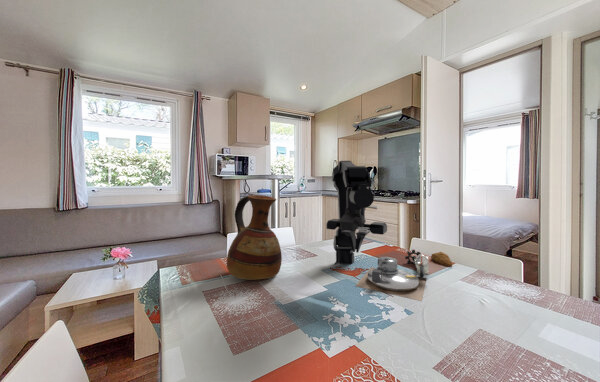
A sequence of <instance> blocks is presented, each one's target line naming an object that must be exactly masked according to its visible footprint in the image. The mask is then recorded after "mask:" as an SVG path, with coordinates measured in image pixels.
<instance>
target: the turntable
mask: <svg viewBox="0 0 600 382" xmlns="http://www.w3.org/2000/svg"><path fill="white" fill-rule="evenodd" d="M397 269H398V268H397ZM368 271H369V270H368ZM368 271H367V272H368ZM368 280H369V282H370V283H372V284H373V285H375V286H377V287H379V288H382V289H386V290H391V291H411V290H414V289H416V288H418V286H419V279H418V278H417V277H416V276H415V273H414V274H413V273H412V272H409V271H407V270H403V269H398V273H397V274H394V275H387V274H382V270H377V269H373V270H371V271H369V272H368Z"/></svg>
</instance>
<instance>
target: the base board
mask: <svg viewBox="0 0 600 382" xmlns="http://www.w3.org/2000/svg"><path fill="white" fill-rule="evenodd" d="M373 269H377V267H370V269H369V270H368V271H367V272H365V274H364V275H363V276H362V277H361V279H360V280H359V281H358V282H357V283H356V284H355V286H354V287H357V288H362V289H365V290H369V291H375V292H380V293H383V294H388V295H392V296H398V297H401V298H406V299H410V300H415V301H418V302H419V301H420V302H422V301H423V298H424V294H425V288H426V284H427V280H421V279H419V286H418V288H416V289H414V290H411V291H391V290H386V289H382V288H379V287H377V286H375V285H373V284H372V283H370V282H369V280H368V272H369V271H371V270H373ZM414 275H415V274H414ZM415 276H417V274H416V275H415Z"/></svg>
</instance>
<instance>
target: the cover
mask: <svg viewBox="0 0 600 382" xmlns="http://www.w3.org/2000/svg"><path fill="white" fill-rule="evenodd" d="M376 268H377V270H382V274H387V275H394V274H397V273H398V259H396V258H395V257H390V256H380V257H377V267H376Z"/></svg>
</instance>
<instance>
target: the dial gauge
mask: <svg viewBox="0 0 600 382" xmlns="http://www.w3.org/2000/svg"><path fill="white" fill-rule="evenodd" d="M427 257H428V256H426V255H424V254H419V255H418V256H417V255H416V258H415V262H416V264H417V265H418V266H420V273H418V272H417V274H416V275H417V276H416V277H417V278H418V279H421V280H426V281H427V280H428V274H424V267H426V266H427V265H428V264H429V257H428V258H427Z"/></svg>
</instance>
